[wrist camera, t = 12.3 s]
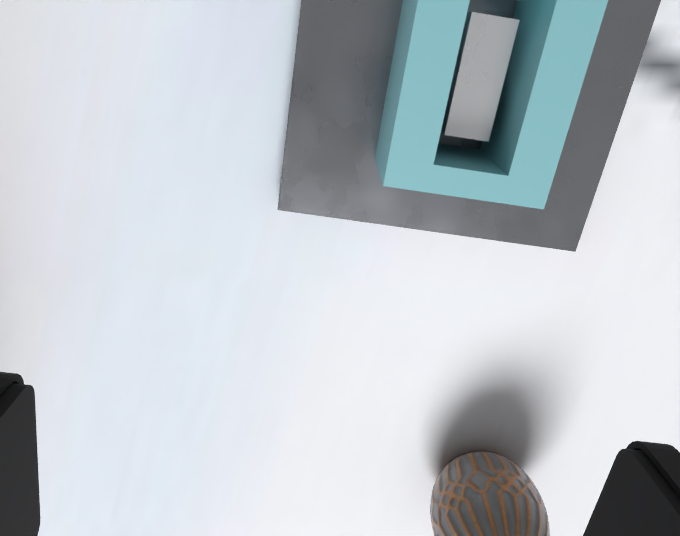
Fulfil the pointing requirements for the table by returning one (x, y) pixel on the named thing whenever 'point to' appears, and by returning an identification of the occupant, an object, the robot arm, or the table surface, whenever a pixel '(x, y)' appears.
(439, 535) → the vase
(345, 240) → the table surface
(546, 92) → the block with rectangular hole
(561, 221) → the key base
